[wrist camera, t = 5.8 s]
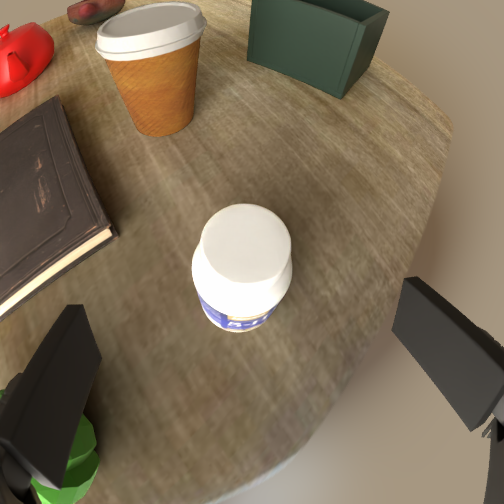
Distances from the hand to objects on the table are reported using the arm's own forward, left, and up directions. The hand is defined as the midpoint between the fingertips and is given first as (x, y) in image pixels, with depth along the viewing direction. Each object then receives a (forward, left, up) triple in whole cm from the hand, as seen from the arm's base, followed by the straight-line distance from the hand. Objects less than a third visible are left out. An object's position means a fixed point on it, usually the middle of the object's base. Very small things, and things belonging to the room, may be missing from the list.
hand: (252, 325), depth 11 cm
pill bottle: (+2, -3, -9) cm, 10 cm away
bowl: (+57, -32, -9) cm, 66 cm away
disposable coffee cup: (+19, -14, -9) cm, 25 cm away
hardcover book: (+26, +2, -9) cm, 28 cm away
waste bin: (+12, -36, -9) cm, 39 cm away
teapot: (+54, -11, -9) cm, 56 cm away
